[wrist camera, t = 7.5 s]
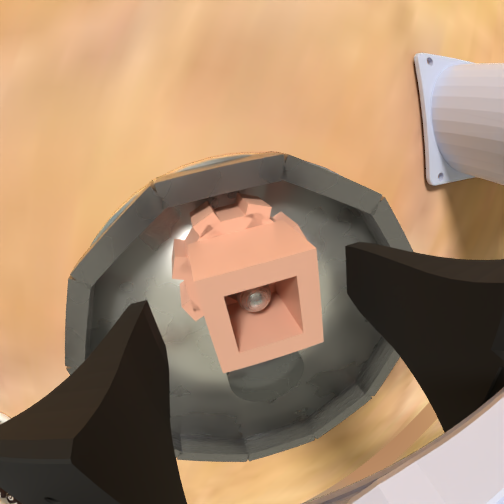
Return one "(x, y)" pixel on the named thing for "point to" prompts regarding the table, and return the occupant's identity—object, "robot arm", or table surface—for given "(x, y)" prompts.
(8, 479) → the robot arm
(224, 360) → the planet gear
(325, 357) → the plate
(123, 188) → the table surface
